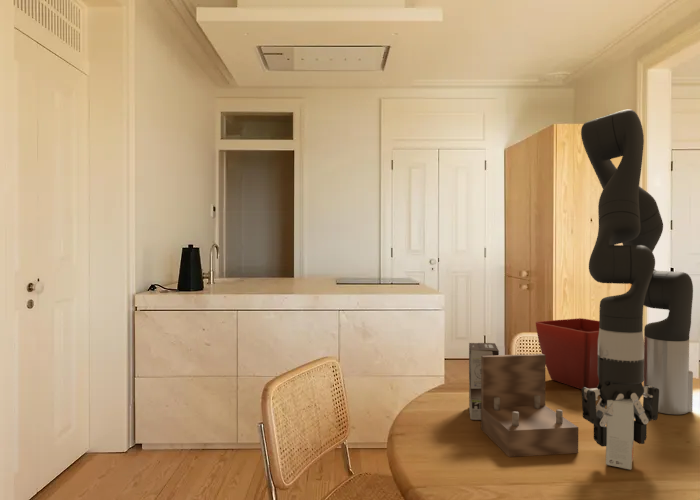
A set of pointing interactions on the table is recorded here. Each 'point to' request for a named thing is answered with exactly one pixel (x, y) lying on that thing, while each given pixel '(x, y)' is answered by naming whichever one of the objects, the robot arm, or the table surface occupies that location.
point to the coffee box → (477, 375)
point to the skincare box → (620, 434)
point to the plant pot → (571, 350)
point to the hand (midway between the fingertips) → (619, 443)
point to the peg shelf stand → (522, 408)
